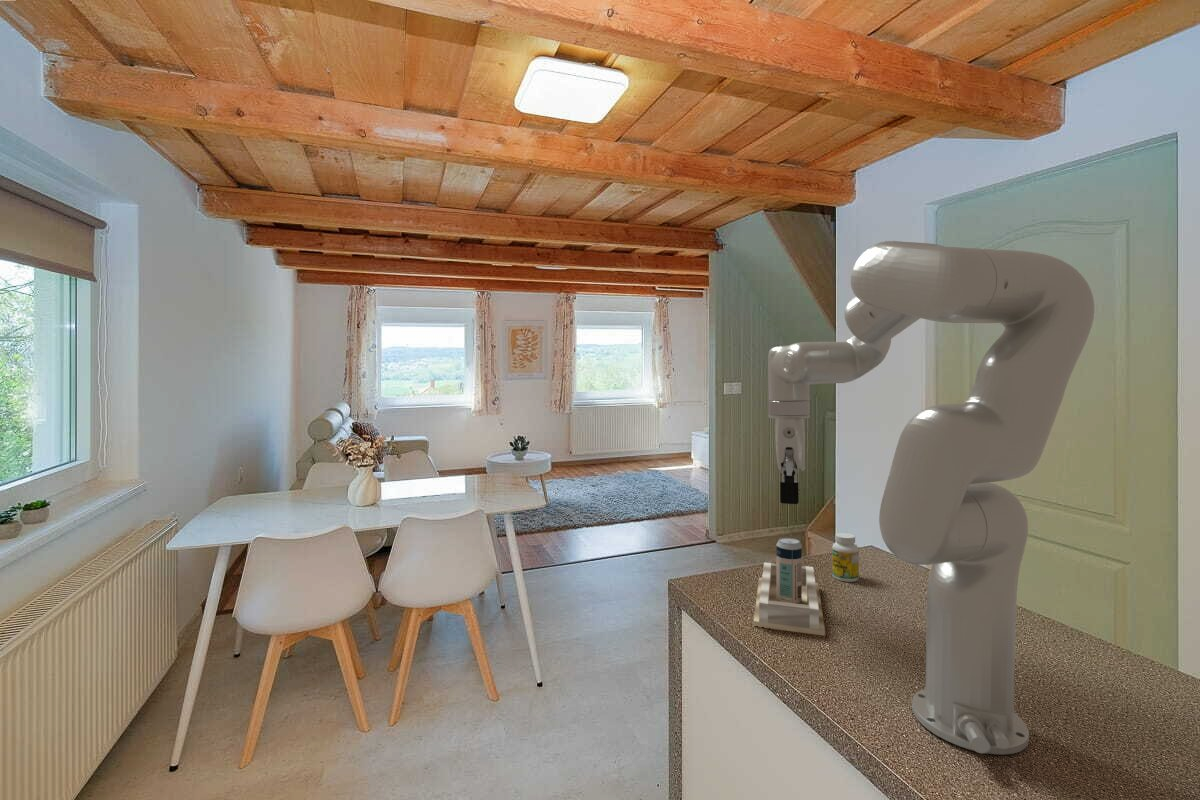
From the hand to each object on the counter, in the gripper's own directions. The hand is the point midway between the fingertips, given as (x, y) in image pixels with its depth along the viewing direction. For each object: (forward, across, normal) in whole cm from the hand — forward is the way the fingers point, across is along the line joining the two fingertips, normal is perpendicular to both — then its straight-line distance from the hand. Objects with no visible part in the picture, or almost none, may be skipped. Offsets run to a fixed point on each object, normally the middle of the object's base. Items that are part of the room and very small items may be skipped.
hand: (789, 497), depth 107 cm
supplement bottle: (+22, +19, -12) cm, 31 cm away
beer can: (+21, 0, 0) cm, 21 cm away
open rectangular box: (+22, 0, 0) cm, 22 cm away
